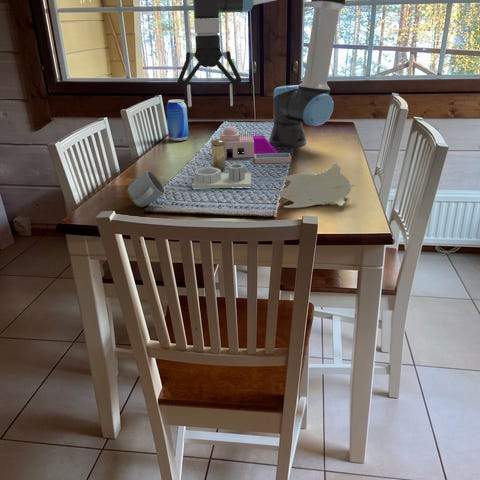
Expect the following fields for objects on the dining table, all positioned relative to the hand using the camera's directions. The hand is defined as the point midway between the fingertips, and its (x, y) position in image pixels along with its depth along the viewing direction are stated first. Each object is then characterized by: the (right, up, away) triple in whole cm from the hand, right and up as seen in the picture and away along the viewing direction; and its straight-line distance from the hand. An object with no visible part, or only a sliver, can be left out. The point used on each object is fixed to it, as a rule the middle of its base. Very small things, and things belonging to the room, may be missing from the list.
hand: (210, 105), depth 151 cm
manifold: (+4, -26, -5) cm, 27 cm away
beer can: (-17, 0, +49) cm, 52 cm away
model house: (+15, -13, +22) cm, 29 cm away
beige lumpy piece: (+32, -36, -22) cm, 53 cm away
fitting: (+2, -20, +8) cm, 21 cm away
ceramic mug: (-16, -35, -22) cm, 45 cm away
